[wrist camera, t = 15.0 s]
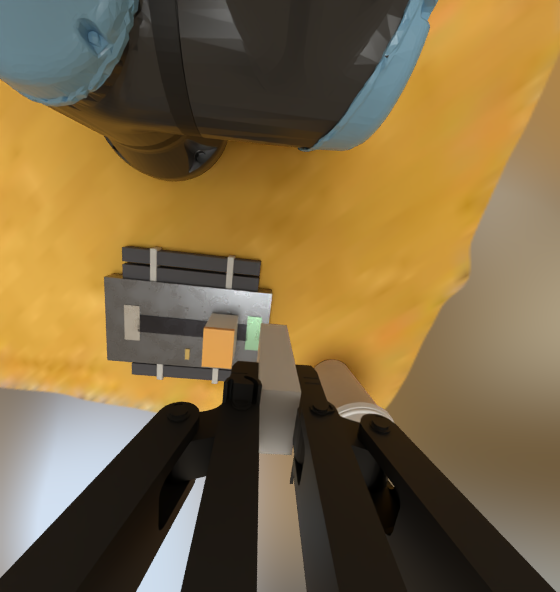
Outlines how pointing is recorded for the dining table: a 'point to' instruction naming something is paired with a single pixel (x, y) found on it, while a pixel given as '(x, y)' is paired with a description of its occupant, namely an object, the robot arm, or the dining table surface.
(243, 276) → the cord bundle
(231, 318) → the lever
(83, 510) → the robot arm
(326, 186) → the dining table surface
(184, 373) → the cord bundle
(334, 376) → the coffee cup
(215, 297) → the panel
